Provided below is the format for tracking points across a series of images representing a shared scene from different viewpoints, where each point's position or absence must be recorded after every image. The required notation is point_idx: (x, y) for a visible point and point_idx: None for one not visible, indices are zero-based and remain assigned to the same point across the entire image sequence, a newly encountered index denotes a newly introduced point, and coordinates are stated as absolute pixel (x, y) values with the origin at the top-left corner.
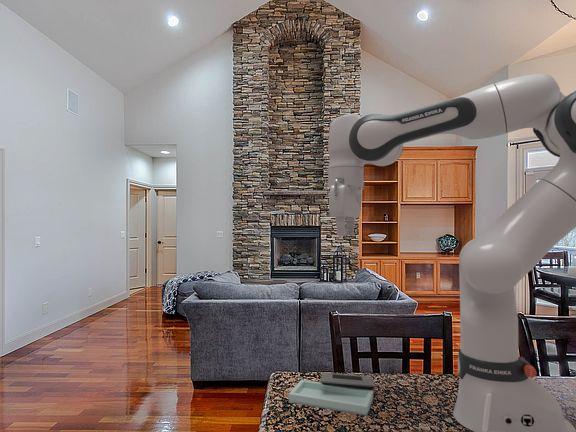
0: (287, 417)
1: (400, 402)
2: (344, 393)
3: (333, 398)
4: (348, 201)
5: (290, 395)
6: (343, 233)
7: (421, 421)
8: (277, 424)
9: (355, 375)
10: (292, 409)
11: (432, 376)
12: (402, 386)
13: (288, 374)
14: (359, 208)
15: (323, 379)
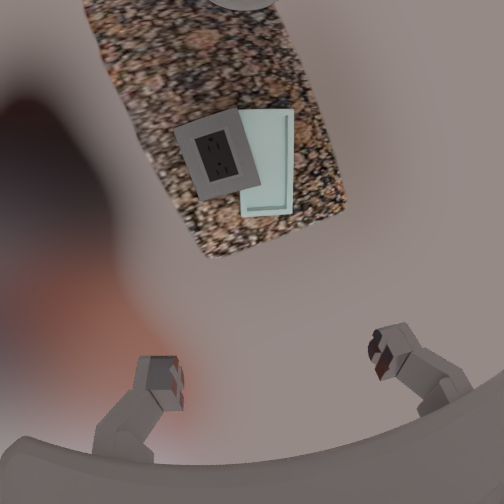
0: (324, 196)
1: (231, 73)
2: None
3: (264, 159)
4: (498, 476)
5: (291, 210)
6: (408, 332)
7: (277, 45)
8: (341, 200)
9: (184, 151)
10: (305, 198)
11: (111, 54)
12: (170, 81)
13: (205, 245)
14: (22, 494)
15: (249, 184)
